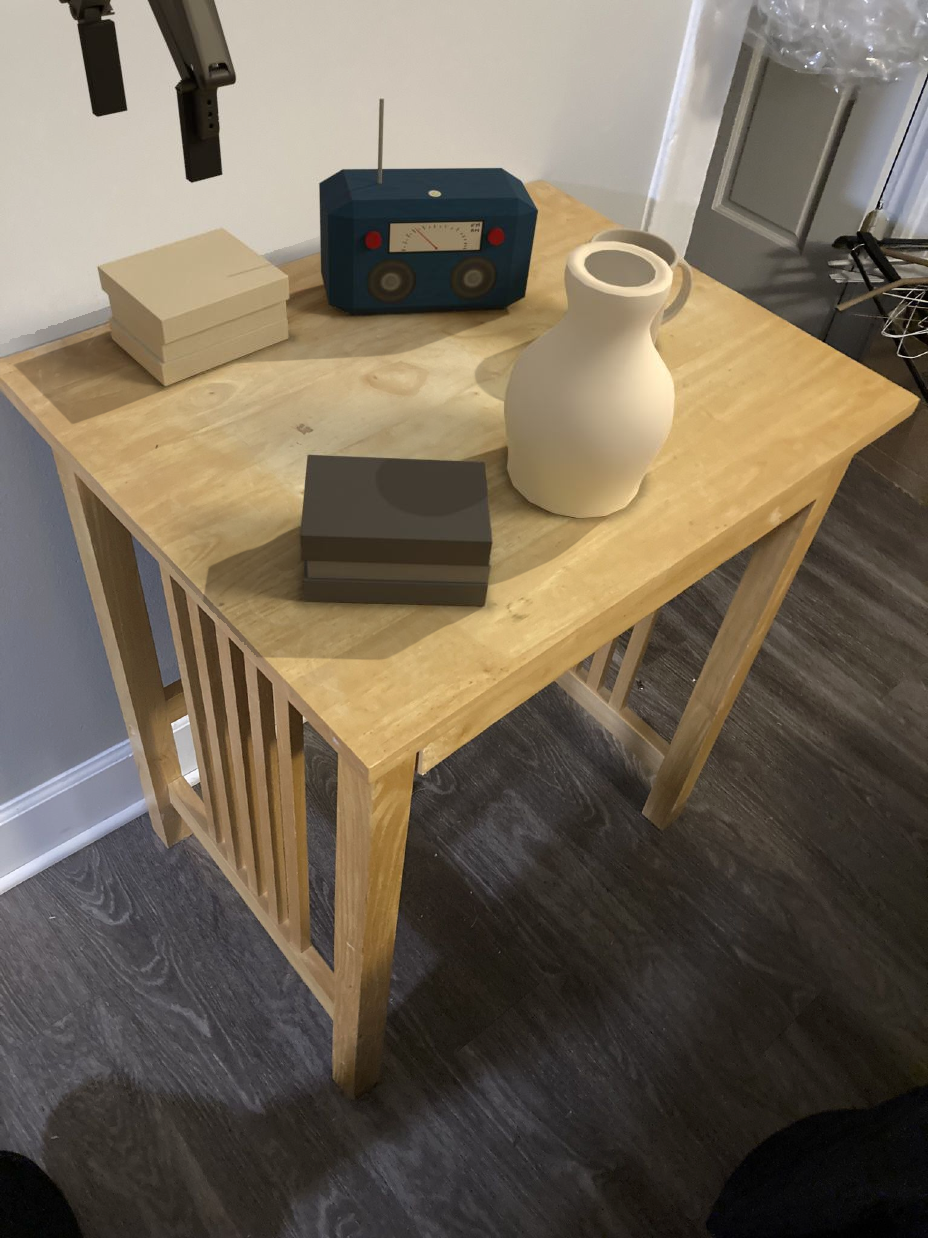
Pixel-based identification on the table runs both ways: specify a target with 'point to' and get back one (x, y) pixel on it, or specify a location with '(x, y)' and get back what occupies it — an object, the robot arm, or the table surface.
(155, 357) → the beige rectangular block
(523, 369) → the vase
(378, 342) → the table surface
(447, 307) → the radio
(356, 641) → the table surface
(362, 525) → the dark brown box
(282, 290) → the beige flat block
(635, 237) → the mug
